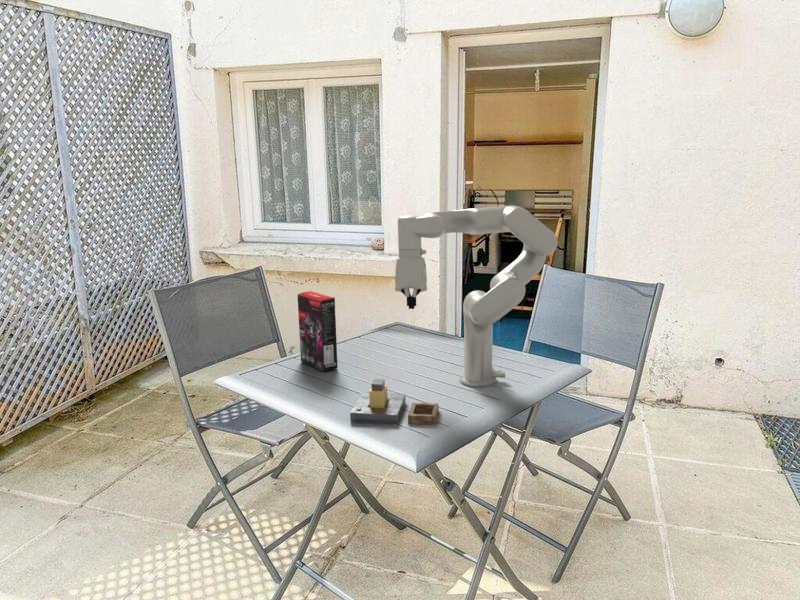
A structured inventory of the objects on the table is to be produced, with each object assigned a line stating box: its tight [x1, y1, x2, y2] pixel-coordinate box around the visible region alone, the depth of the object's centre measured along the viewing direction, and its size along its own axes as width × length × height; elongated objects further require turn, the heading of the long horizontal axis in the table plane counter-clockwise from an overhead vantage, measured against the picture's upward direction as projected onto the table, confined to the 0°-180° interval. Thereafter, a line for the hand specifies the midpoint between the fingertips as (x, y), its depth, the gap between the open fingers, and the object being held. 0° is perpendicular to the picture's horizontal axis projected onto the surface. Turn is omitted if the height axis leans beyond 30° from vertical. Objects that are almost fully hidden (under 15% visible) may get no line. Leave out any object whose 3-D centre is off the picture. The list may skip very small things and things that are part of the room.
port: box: [349, 391, 407, 425], centre depth 183 cm, size 14×16×3 cm
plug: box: [368, 378, 388, 408], centre depth 182 cm, size 4×6×10 cm
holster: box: [407, 402, 440, 426], centre depth 179 cm, size 8×10×2 cm
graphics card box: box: [296, 290, 338, 372], centre depth 223 cm, size 17×7×27 cm, turn 40°
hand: (411, 308), depth 199 cm, fingers closed
